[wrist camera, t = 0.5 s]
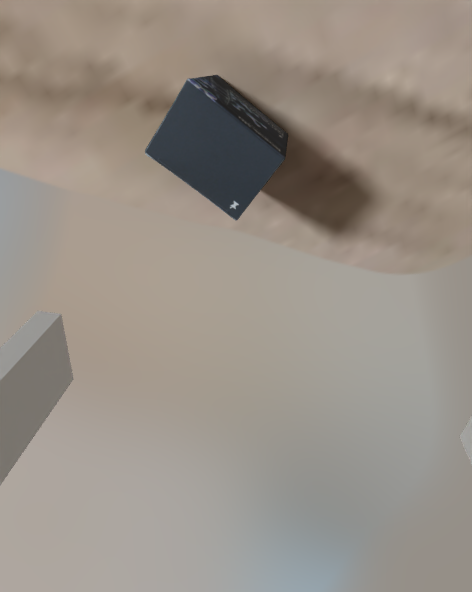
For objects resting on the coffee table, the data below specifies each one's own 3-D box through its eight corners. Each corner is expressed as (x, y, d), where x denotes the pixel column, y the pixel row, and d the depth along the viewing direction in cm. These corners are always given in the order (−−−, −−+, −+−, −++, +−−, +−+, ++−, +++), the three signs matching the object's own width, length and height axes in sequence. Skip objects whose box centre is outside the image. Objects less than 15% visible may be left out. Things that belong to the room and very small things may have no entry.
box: (289, 133, 34) (287, 159, 25) (250, 184, 37) (235, 225, 28) (216, 71, 33) (186, 75, 24) (180, 130, 35) (141, 154, 26)
